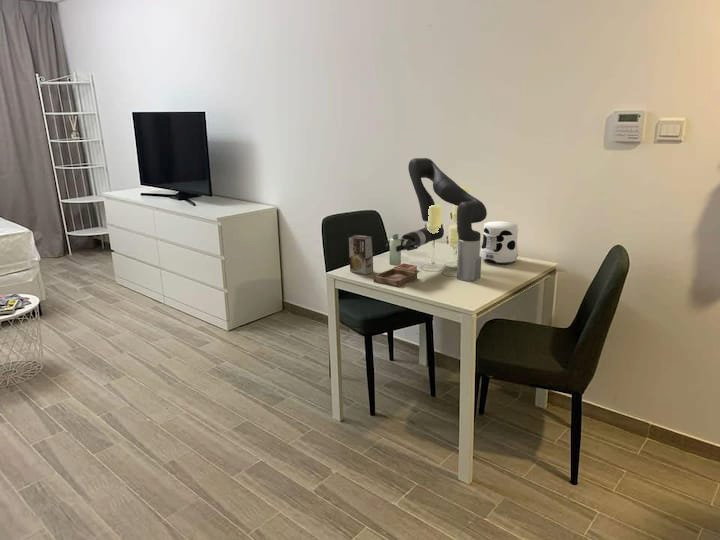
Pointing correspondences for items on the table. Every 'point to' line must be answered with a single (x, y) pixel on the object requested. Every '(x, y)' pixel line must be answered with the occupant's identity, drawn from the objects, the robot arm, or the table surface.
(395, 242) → the bottle
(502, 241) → the cow print rice cooker
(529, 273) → the table surface
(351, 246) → the coffee box
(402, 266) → the holder
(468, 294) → the table surface
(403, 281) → the tray
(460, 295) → the table surface
